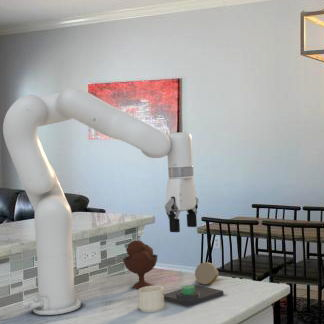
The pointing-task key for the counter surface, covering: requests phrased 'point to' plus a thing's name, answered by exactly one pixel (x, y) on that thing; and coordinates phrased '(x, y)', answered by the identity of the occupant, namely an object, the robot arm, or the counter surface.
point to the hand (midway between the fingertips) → (183, 229)
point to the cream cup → (151, 298)
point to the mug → (206, 273)
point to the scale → (193, 296)
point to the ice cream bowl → (140, 261)
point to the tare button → (188, 290)
